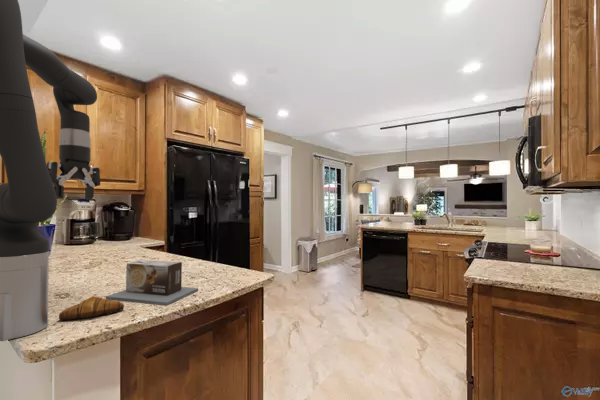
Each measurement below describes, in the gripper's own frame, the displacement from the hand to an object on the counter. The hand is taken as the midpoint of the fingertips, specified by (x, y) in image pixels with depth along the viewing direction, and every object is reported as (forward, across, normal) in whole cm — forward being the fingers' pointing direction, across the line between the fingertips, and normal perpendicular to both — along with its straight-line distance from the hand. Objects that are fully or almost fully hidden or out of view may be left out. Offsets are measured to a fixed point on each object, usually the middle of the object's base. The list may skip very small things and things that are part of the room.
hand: (74, 199), depth 86 cm
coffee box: (+25, +10, -12) cm, 29 cm away
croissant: (+30, -9, -19) cm, 37 cm away
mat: (+30, +9, -21) cm, 38 cm away
